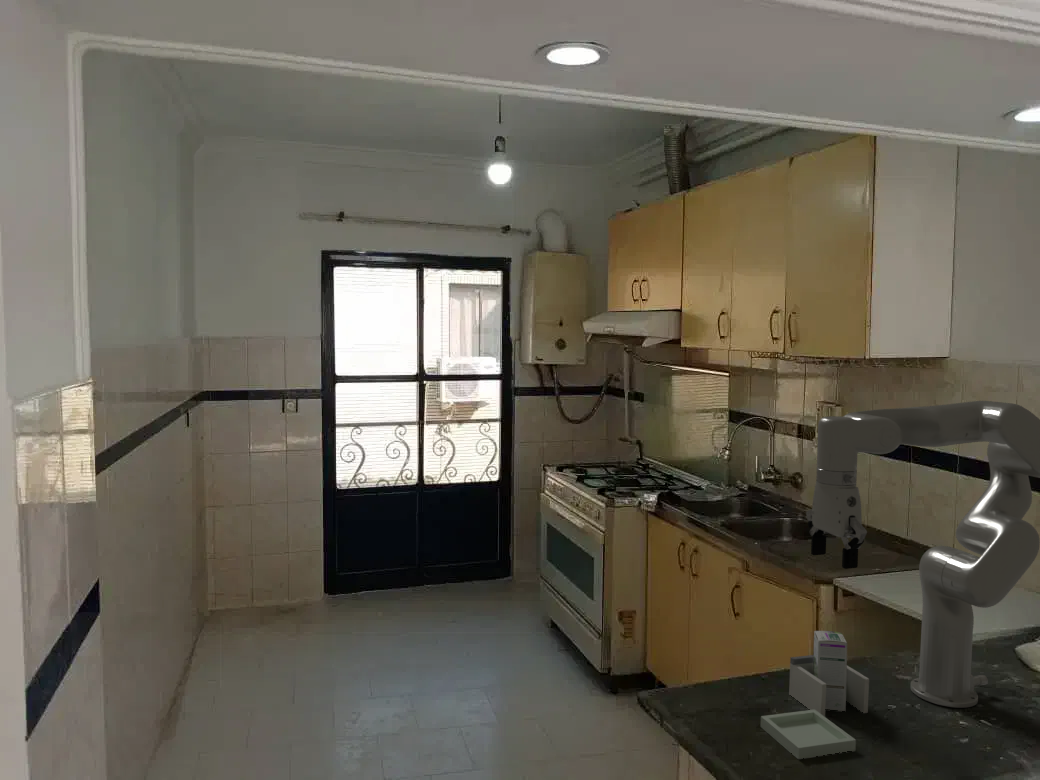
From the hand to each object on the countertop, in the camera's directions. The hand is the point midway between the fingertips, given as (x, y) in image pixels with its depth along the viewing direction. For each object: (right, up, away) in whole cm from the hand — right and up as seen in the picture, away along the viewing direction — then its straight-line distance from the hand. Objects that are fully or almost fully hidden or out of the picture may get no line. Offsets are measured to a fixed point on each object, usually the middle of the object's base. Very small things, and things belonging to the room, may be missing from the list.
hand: (833, 561), depth 157 cm
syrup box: (0, -30, +2) cm, 30 cm away
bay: (0, -30, +2) cm, 30 cm away
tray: (-10, -31, -12) cm, 34 cm away
